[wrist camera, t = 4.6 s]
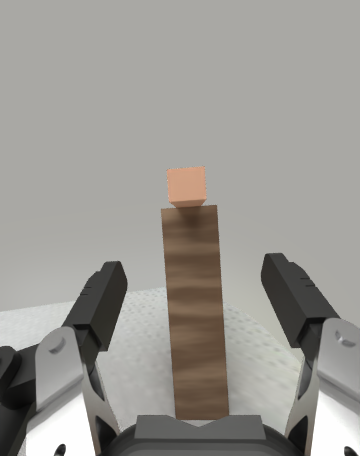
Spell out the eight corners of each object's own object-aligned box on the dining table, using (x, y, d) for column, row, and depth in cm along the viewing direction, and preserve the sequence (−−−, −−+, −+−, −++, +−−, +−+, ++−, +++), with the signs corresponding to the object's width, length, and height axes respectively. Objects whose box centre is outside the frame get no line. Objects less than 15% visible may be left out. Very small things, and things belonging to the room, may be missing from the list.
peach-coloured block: (206, 199, 17) (204, 166, 17) (169, 201, 17) (166, 169, 17) (197, 210, 41) (196, 197, 41) (181, 211, 41) (180, 198, 41)
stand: (229, 419, 27) (216, 204, 26) (176, 419, 28) (160, 208, 26) (214, 345, 43) (206, 210, 42) (181, 346, 43) (172, 212, 42)
